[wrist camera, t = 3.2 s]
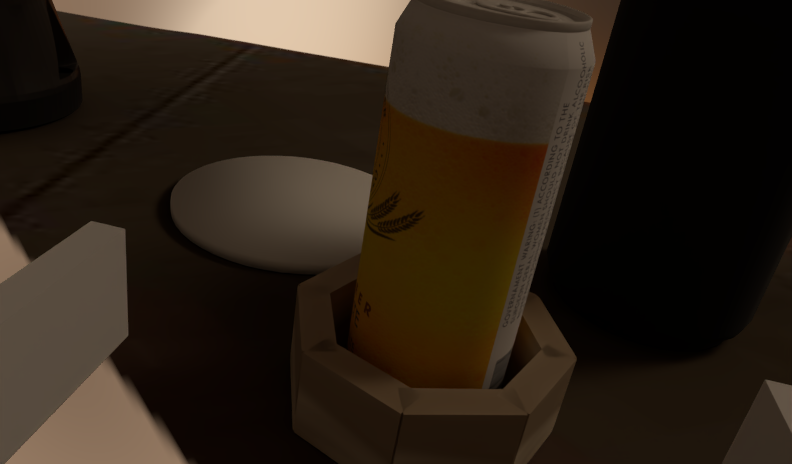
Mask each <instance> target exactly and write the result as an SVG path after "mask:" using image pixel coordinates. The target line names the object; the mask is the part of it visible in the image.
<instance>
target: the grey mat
mask: <svg viewBox="0 0 792 464" xmlns="http://www.w3.org/2000/svg"><path fill="white" fill-rule="evenodd" d="M371 183H372V175H370V174H368V173H365V172H363V171H360V170H357V169H354V168H351V167H348V166H344V165H340V164H336V163H332V162H327V161H322V160H316V159H310V158H301V157H290V156H251V157H240V158H234V159H228V160H223V161H219V162H215V163H212V164H208V165H205V166H203V167H201V168H198V169H196V170H194V171H192V172H190V173H189V174H187V175H186V176H184V177H183V178H182V179H181V180H179V182H178V183H177V184H176V185H175V187H174V189H173V191H172V193H171V199H170V211H171V217H172V219H173V221H174V223H175V225H176V227H177V228H178V229H179V231H180V232H181V233H182V234H183V235H184V236H185V237H186V238H188V239H189V240H190V241H191V242H193V243H194V244H196V245H197V246H199V247H200V248H202V249H204V250H206V251H208V252H210V253H212V254H214V255H216V256H219V257H221V258H224V259H226V260H229V261H232V262H235V263H238V264H242V265H245V266H249V267H253V268H258V269H262V270H268V271H274V272H281V273H292V274H314V275H318V274H320V273H322V272H324V271H326V270H328V269H330V268H332V267H334V266H336V265H338V264H340V263H342V262H344V261H346V260H348V259H350V258H352V257H354V256H356V255H358V254H360V253H361V249H362V243H363V236H364V229H365V223H366V216H367V209H368V203H369V196H370V190H371Z"/></svg>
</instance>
